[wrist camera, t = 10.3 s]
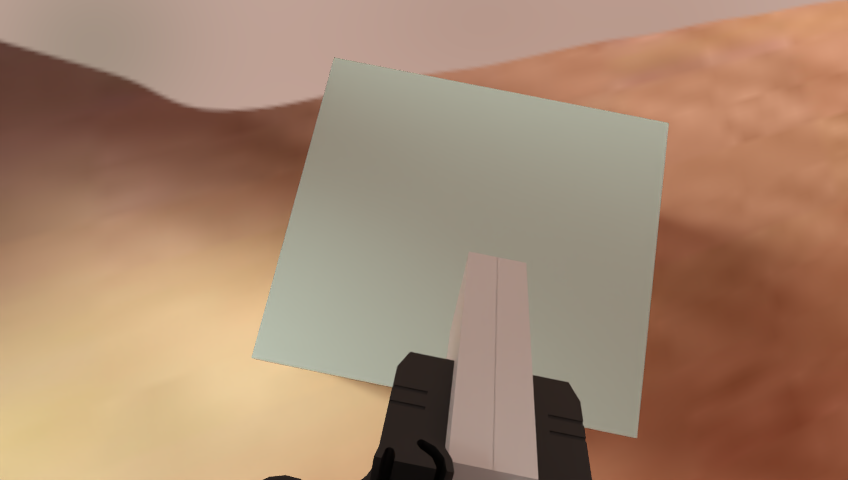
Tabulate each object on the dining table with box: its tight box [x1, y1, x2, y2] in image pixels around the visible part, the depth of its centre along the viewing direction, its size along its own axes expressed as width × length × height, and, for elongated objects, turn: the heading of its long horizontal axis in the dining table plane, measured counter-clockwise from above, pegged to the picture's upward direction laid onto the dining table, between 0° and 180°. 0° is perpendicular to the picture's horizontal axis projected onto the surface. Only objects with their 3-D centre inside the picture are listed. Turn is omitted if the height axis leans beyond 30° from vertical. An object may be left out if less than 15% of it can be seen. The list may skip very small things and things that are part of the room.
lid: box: [252, 58, 669, 438], centre depth 28 cm, size 15×17×1 cm
